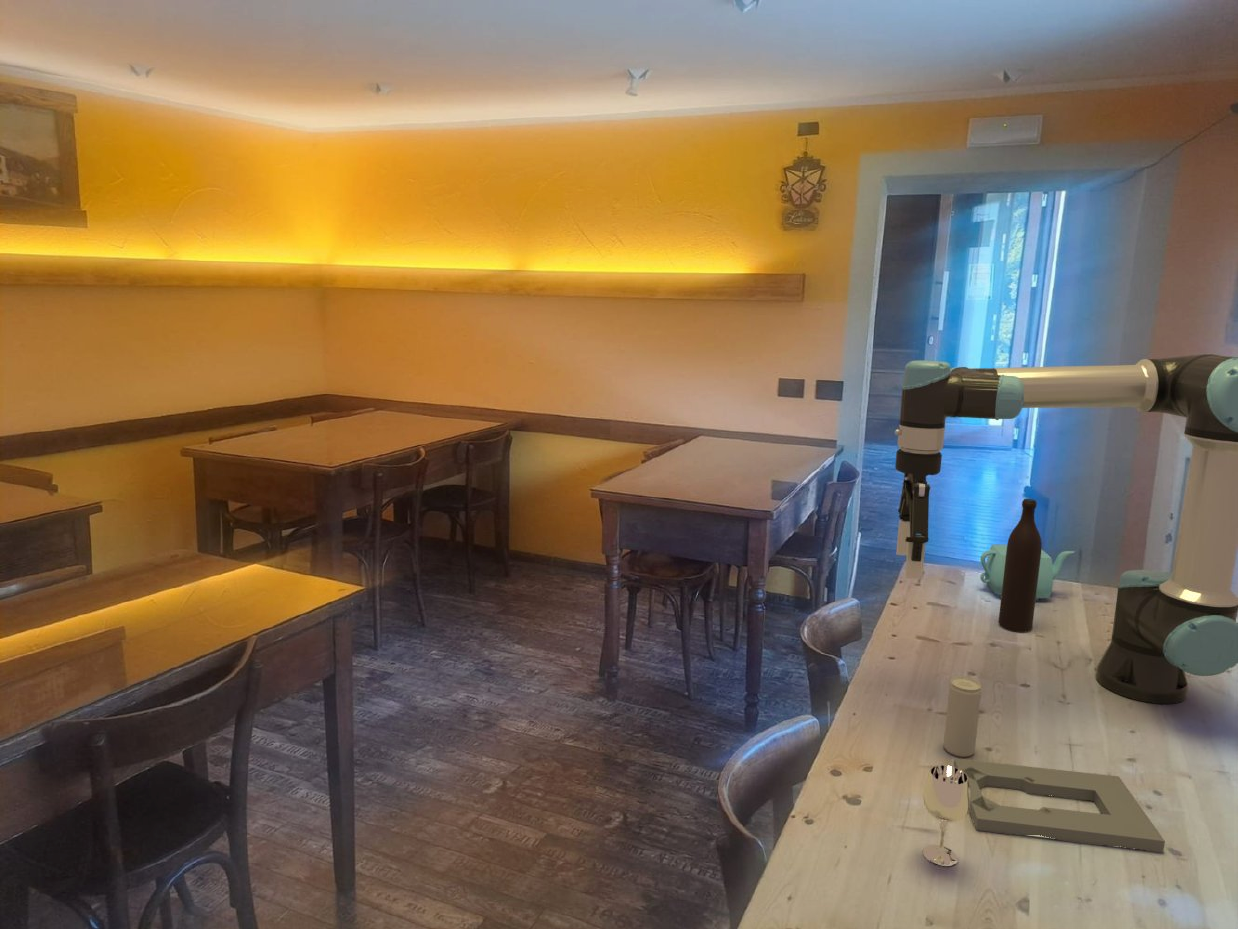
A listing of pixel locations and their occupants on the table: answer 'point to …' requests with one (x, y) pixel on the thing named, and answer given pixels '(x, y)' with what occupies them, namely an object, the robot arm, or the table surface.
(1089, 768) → the table surface
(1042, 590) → the teapot
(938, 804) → the wineglass
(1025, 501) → the wine bottle
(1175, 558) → the robot arm
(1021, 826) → the flat rectangular frame
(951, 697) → the beverage can
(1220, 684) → the table surface
